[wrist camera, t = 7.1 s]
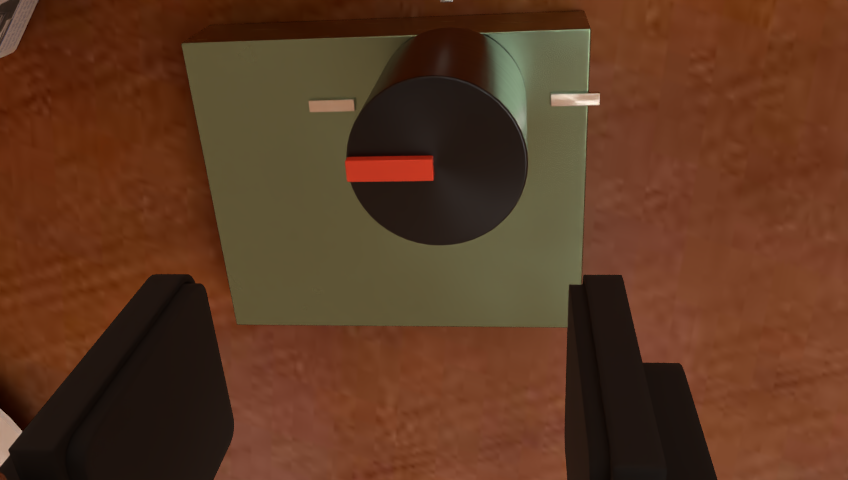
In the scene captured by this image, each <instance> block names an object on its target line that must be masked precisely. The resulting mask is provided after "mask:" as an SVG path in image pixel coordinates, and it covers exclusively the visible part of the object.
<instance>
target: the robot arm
mask: <svg viewBox="0 0 848 480" xmlns="http://www.w3.org/2000/svg"><path fill="white" fill-rule="evenodd" d="M233 431H234V419H233V413H232V409H231V404H230V399H229V395H228V390H227V386H226V381H225V376H224V372H223V367H222V362H221V358H220V353H219V348H218V344H217V339H216V334H215V330H214V325H213V320H212V316H211V311H210V306H209V302H208V297H207V293H206V290H205V287H204V286H203V285H202V284H195V281H194V280H193V278H192V277H191V276H190V275H188V274H156V275H152V276H150V277H149V278H148V279H147V280H146V282H145V283H144V284H143V285H142V287H141V288H140V289H139V290H138V291H137V293H136V294H135V295H134V296H133V298H132V299H131V300H130V301H129V302H128V304H127V305H126V306H125V307H124V309H123V310H122V311H121V312H120V313H119V315H118V316H117V317H116V318H115V320H114V321H113V322H112V323H111V324H110V326H109V327H108V328H107V329H106V331H105V332H104V333H103V334H102V335H101V337H100V338H99V339H98V340H97V342H96V343H95V344H94V345H93V346H92V348H91V349H90V350H89V351H88V353H87V354H86V355H85V356H84V357H83V359H82V360H81V361H80V362H79V364H78V365H77V366H76V367H75V368H74V370H73V371H72V372H71V373H70V374H69V376H68V377H67V378H66V379H65V381H64V382H63V383H62V384H61V385H60V387H59V388H58V389H57V390H56V392H55V393H54V394H53V395H52V396H51V398H50V399H49V400H48V401H47V403H46V404H45V405H44V406H43V407H42V409H41V410H40V411H39V412H38V414H37V415H36V416H35V417H34V418H33V420H32V421H31V422H30V423H29V425H28V426H27V427H26V428H25V429H24V431H23V432H22V433H21V434H20V436H19V437H18V438H17V439H16V440H15V442H14V443H13V444H12V445H11V447H10V448H9V449H8V451H9V453H10V455H9V457H8V458H7V459H6V460H5V462H4V463H3V464H2V465H1V467H0V480H213V479H214V477H215V475H216V473H217V471H218V469H219V467H220V464H221V462H222V460H223V458H224V456H225V454H226V452H227V449H228V447H229V445H230V443H231V440H232V437H233ZM565 454H566V467H567V480H717V477H716V474H715V470H714V467H713V464H712V460H711V457H710V454H709V451H708V447H707V444H706V441H705V438H704V434H703V431H702V428H701V424H700V421H699V418H698V415H697V411H696V408H695V405H694V402H693V398H692V395H691V392H690V388H689V385H688V382H687V379H686V375H685V372H684V370H683V367H682V365H680V364H679V363H642V359H641V355H640V350H639V346H638V342H637V337H636V333H635V329H634V324H633V320H632V316H631V312H630V307H629V303H628V299H627V294H626V290H625V286H624V281H623V278H622V275H584V276H583V284H582V285H569V294H568V329H567V364H566V399H565Z"/></svg>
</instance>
